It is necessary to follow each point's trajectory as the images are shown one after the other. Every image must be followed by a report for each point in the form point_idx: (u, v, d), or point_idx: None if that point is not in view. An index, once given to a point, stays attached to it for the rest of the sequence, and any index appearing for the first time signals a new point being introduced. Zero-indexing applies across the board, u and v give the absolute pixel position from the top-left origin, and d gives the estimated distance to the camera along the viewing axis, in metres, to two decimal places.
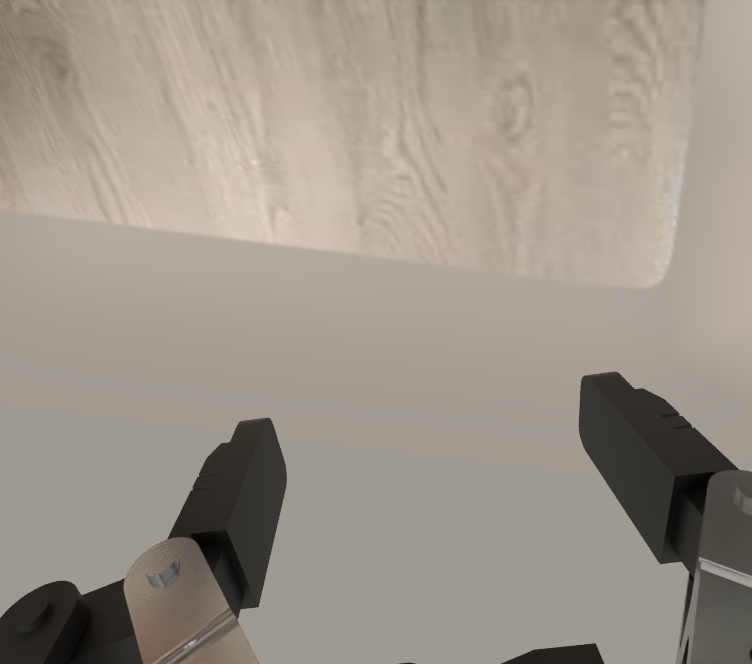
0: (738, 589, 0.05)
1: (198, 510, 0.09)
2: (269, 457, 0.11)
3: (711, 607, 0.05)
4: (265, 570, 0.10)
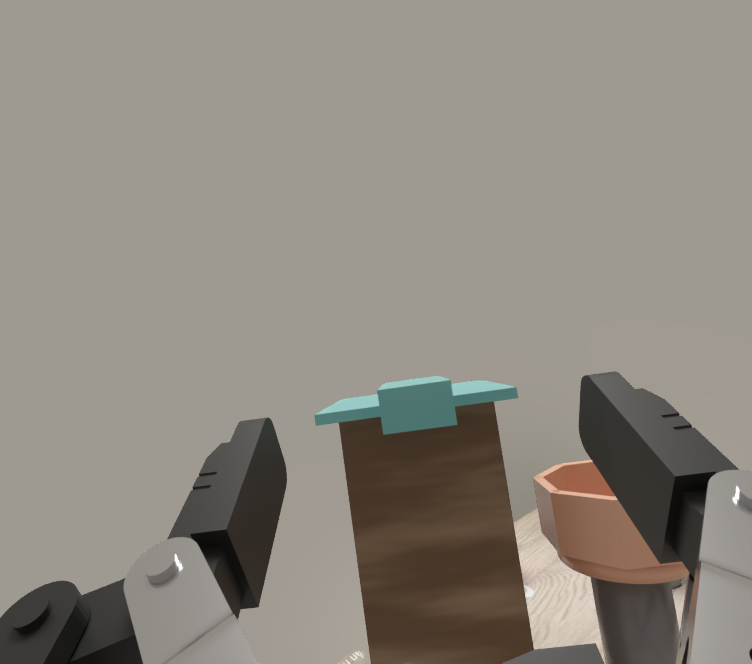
0: (738, 589, 0.05)
1: (198, 510, 0.09)
2: (270, 457, 0.11)
3: (711, 607, 0.05)
4: (265, 570, 0.10)
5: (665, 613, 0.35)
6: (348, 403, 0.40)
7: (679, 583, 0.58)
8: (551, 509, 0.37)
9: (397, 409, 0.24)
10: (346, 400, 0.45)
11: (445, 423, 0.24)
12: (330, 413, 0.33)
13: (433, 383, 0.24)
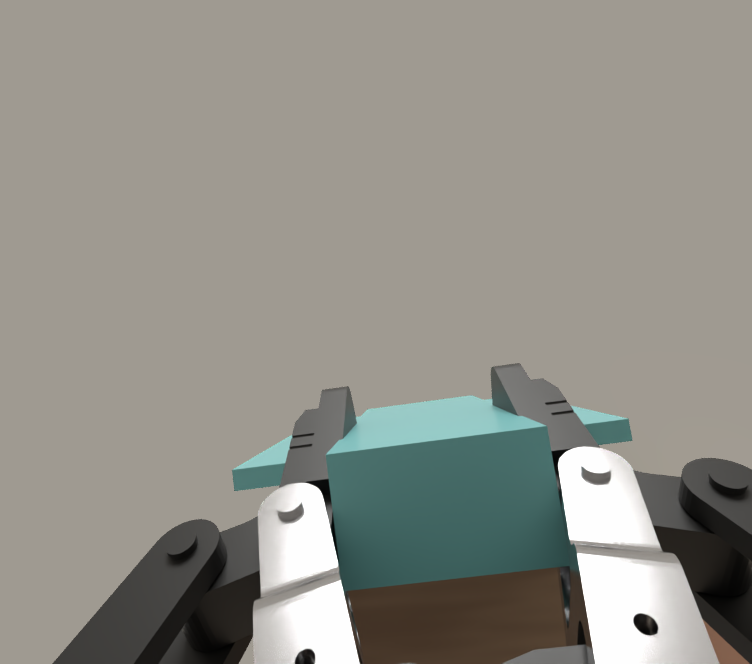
0: (609, 562, 0.06)
1: (301, 465, 0.10)
2: (351, 423, 0.12)
3: (595, 588, 0.05)
4: None
5: None
6: None
7: None
8: None
9: (387, 514, 0.08)
10: None
11: (533, 561, 0.08)
12: (262, 467, 0.17)
13: (495, 436, 0.08)
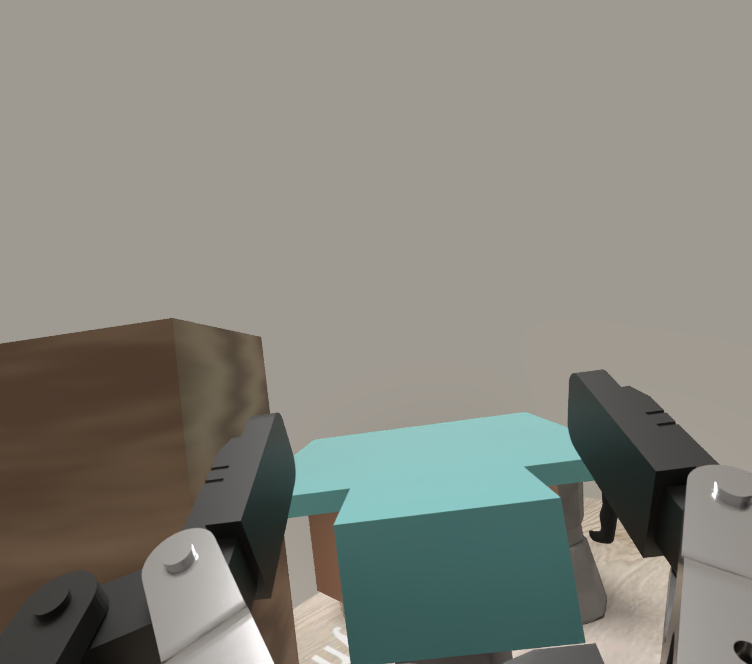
0: (720, 583, 0.05)
1: (211, 503, 0.09)
2: (280, 451, 0.11)
3: (695, 603, 0.05)
4: (277, 562, 0.10)
5: None
6: (315, 459, 0.24)
7: (600, 614, 0.43)
8: None
9: (397, 587, 0.08)
10: (317, 445, 0.29)
11: (547, 638, 0.08)
12: None
13: (507, 507, 0.08)
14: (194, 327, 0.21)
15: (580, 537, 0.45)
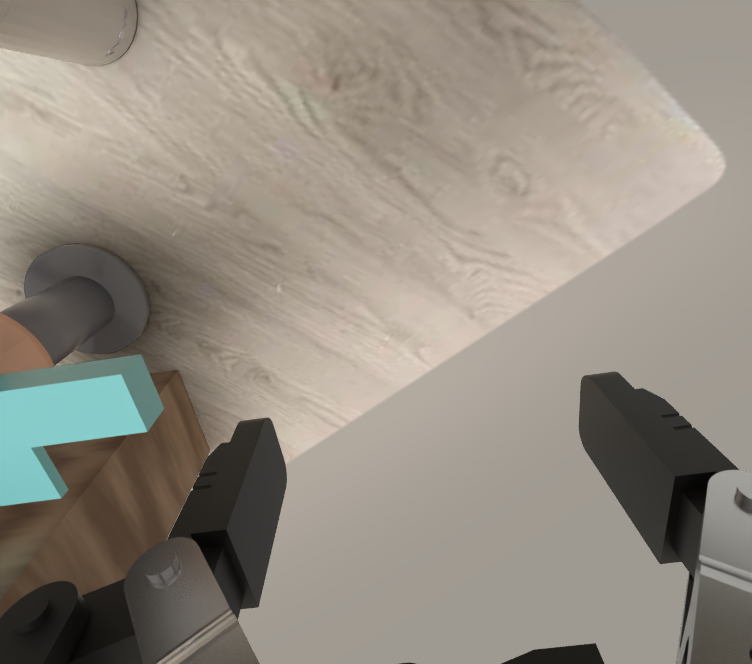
0: (738, 589, 0.05)
1: (198, 510, 0.09)
2: (269, 457, 0.11)
3: (711, 607, 0.05)
4: (265, 570, 0.10)
5: (42, 328, 0.37)
6: None
7: None
8: None
9: (150, 406, 0.27)
10: None
11: (144, 364, 0.27)
12: (53, 484, 0.30)
13: (128, 387, 0.25)
14: None
15: None
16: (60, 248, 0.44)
